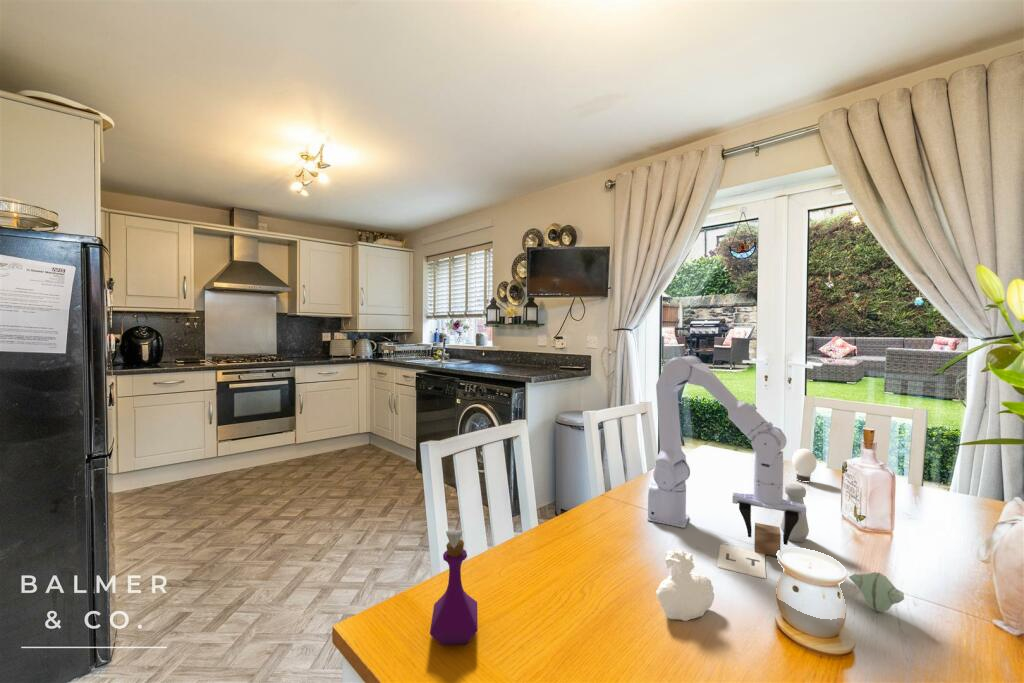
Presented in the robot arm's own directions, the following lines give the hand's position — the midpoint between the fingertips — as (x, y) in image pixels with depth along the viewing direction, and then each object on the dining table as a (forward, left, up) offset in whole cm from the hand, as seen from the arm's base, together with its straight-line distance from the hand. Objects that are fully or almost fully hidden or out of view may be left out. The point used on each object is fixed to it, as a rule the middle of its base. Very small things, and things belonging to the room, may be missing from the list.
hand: (767, 539), depth 100 cm
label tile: (-5, -8, -3) cm, 10 cm away
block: (0, 0, -2) cm, 3 cm away
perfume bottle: (-46, -58, -3) cm, 74 cm away
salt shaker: (+6, +10, -3) cm, 12 cm away
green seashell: (+17, -15, -3) cm, 23 cm away
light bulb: (+12, +59, -3) cm, 60 cm away
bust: (-14, -32, -3) cm, 35 cm away
